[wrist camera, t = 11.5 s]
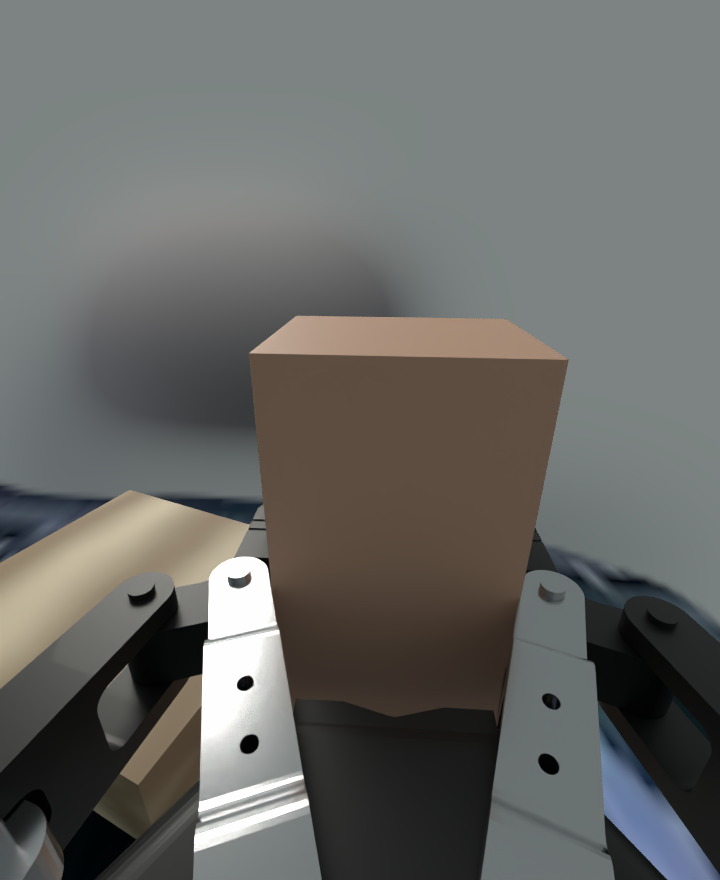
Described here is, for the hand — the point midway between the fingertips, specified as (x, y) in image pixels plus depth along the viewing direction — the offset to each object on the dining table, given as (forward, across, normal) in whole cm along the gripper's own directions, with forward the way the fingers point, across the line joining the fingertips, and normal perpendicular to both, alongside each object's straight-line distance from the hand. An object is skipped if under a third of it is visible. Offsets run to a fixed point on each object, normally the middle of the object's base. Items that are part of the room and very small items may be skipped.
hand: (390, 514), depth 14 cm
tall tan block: (-3, 0, +8) cm, 8 cm away
